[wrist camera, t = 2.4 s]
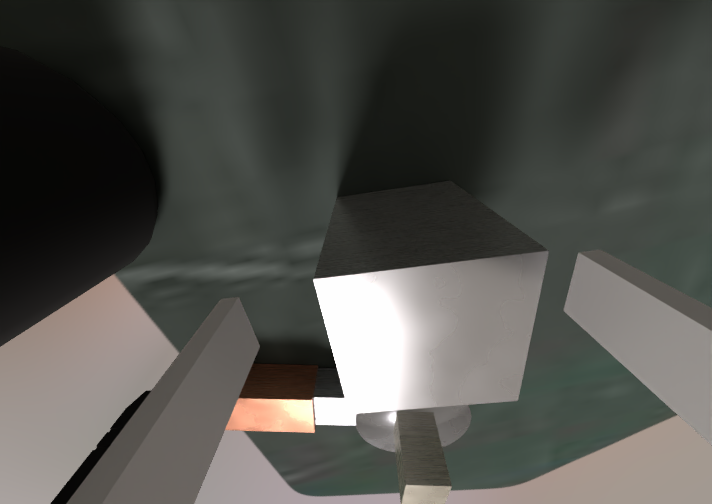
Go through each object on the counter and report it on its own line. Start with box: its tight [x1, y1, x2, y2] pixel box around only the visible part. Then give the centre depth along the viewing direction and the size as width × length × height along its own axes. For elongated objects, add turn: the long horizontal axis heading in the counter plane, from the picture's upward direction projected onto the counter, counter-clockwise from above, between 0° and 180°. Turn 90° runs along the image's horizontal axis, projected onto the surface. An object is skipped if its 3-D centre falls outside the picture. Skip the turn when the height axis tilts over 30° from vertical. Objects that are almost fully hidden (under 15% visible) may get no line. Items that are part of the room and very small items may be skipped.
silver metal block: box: [313, 181, 549, 414], centre depth 12 cm, size 6×6×8 cm
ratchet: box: [225, 364, 471, 504], centre depth 18 cm, size 18×8×7 cm, turn 89°
